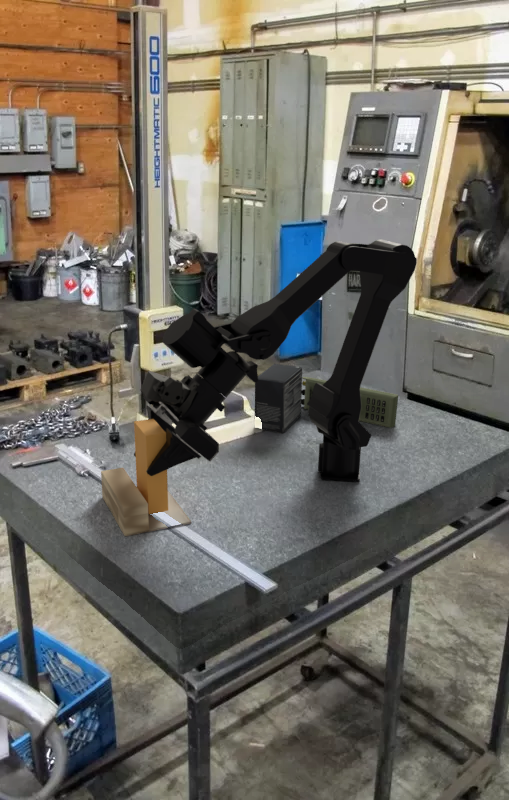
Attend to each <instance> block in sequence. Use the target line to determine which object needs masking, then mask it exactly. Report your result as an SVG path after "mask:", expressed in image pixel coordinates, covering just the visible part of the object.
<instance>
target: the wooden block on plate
mask: <svg viewBox="0 0 509 800" xmlns="http://www.w3.org/2000/svg"><path fill="white" fill-rule="evenodd" d="M100 476H101V477H100V478H101V480H100V481H101V495H102V496H101V497H102V499H103V501H104V502H105V505H106V506H107V507H108V508H107V509H109V511H110V513H111V515H112V516H113V518H114V520H115V522H116V524H117V526H118V527H119V529H120V531H121V532H122V534H123V536H124V537H129V536H135V535H139V534H144V533H149V532H154V531H160V530H164V529H165V530H166V529H169V528H168V527H167V526H166V525H165V524H163V523H162V522H160V521H158V520H156V519H155V518H154V517H153V516H152V515H150V514H148V503H147V502H146V500H145V499H144V497H143V496H142V494H141V493H140V491H139V490H138V488H137V484H135V482H134V481H133V480H132V478H131V476H130V475H129V473H127V471H126V469H125V467H117V468H112V469H106V470H101V471H100ZM163 512H165V513H166V514H168V515H169V516H170V517H172V518H173V519H175V520H176V521H178V522H179V523H181V524H183V525H182V526H185V525H189V524H193V523H192V520H191V519H190V518H189V516H188V515H187V513H186V512H185V511H184V509H183V508H182V507H181V505H180V504H179V503H178V502H177V500H176V498H175V497H174V496H173V494H171V492H170V491H169V490H168V511H163Z"/></svg>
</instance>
